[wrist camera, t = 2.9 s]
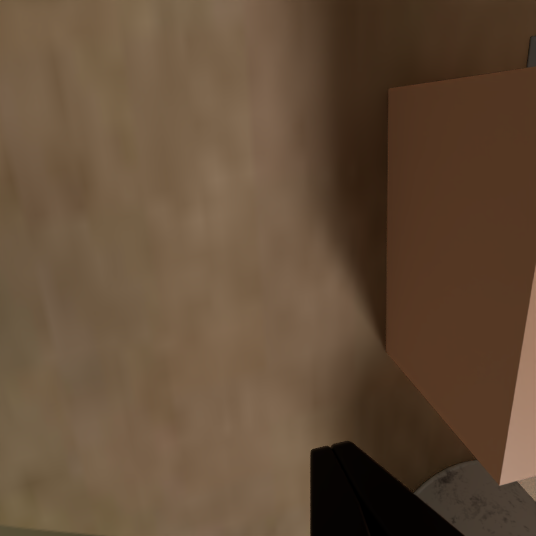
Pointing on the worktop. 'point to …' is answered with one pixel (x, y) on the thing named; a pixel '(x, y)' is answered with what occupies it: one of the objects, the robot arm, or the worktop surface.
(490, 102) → the t block
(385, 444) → the worktop surface
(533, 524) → the speckled white cylinder
